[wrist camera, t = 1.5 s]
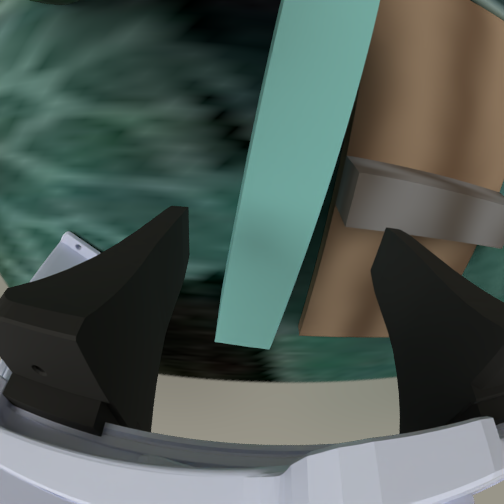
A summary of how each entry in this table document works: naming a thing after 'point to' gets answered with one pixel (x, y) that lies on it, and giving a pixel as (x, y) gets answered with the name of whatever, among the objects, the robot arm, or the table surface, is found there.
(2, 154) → the table surface
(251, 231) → the batten
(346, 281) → the balance board
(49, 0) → the coffee jar
